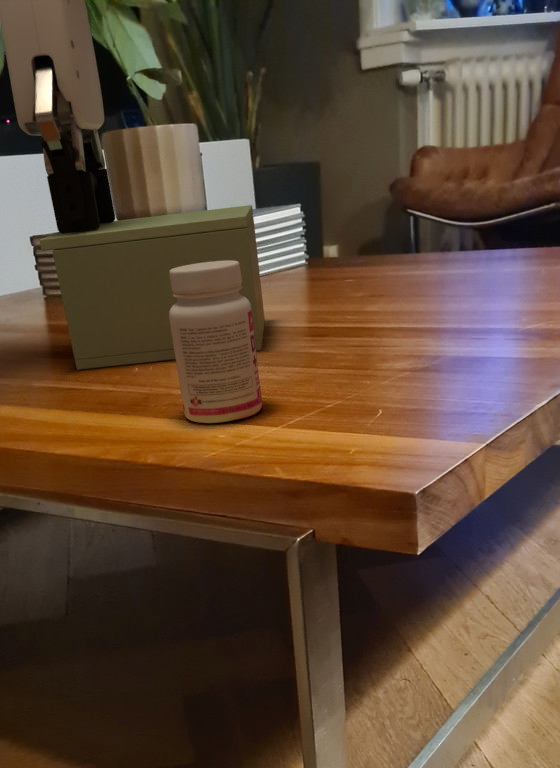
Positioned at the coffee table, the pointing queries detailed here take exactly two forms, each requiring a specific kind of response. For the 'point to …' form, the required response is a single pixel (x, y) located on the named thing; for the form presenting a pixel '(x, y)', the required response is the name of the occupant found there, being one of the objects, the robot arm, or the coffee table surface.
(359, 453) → the coffee table surface
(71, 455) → the coffee table surface
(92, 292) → the bin
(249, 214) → the lid
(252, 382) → the pill bottle
